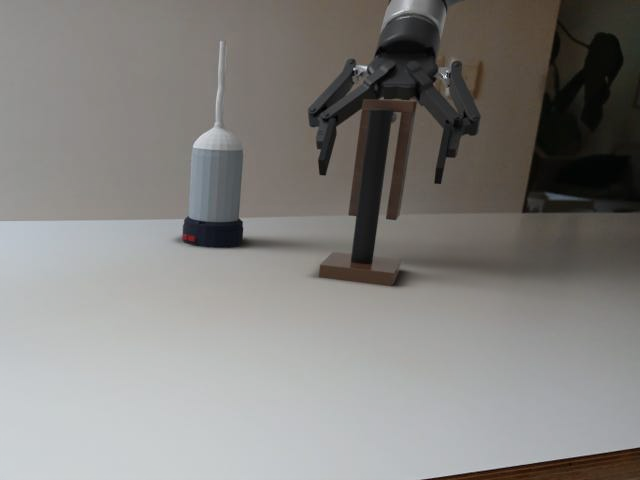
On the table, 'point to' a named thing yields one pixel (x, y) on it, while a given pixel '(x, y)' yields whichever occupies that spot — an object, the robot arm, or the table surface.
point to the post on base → (367, 214)
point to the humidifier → (215, 181)
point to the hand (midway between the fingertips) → (378, 172)
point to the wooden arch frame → (400, 155)
